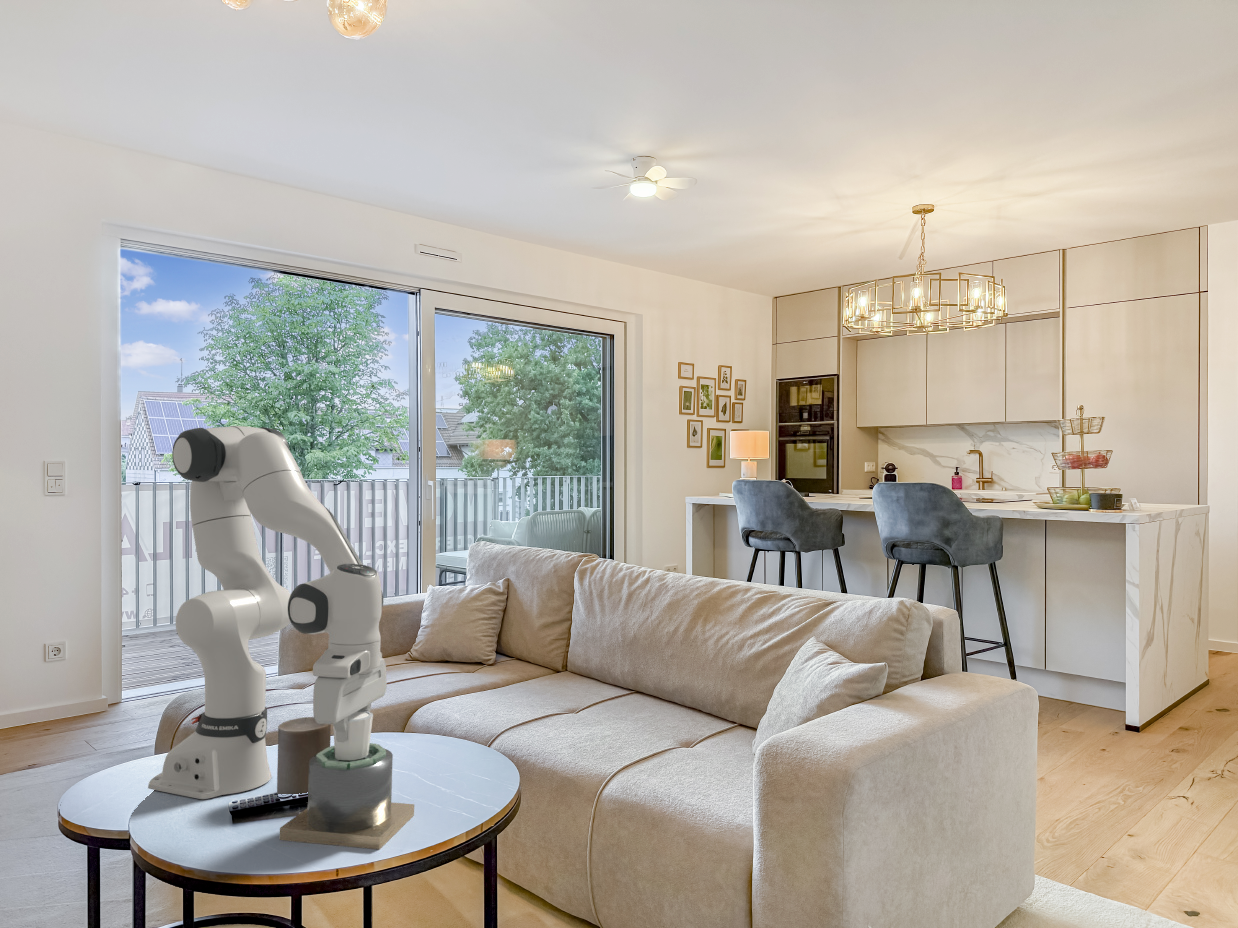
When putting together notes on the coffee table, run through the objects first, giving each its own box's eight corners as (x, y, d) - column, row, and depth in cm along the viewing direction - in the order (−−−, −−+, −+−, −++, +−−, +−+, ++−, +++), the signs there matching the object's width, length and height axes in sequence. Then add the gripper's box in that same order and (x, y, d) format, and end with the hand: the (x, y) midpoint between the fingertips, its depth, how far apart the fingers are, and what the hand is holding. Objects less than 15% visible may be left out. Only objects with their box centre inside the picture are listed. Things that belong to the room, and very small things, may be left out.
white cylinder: (358, 763, 136) (359, 722, 136) (323, 759, 138) (324, 718, 138) (379, 750, 143) (380, 711, 143) (345, 747, 144) (346, 708, 144)
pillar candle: (340, 788, 157) (341, 712, 158) (308, 806, 148) (310, 725, 149) (298, 783, 160) (299, 708, 161) (264, 801, 151) (266, 721, 151)
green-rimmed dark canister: (279, 839, 134) (282, 762, 135) (322, 807, 148) (324, 736, 148) (379, 849, 131) (381, 769, 132) (414, 815, 145) (416, 743, 146)
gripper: (365, 644, 151) (362, 717, 151) (307, 668, 131) (304, 752, 131) (396, 646, 150) (394, 719, 150) (342, 670, 130) (339, 755, 130)
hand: (351, 735), depth 140 cm, fingers closed on white cylinder, 5 cm apart
